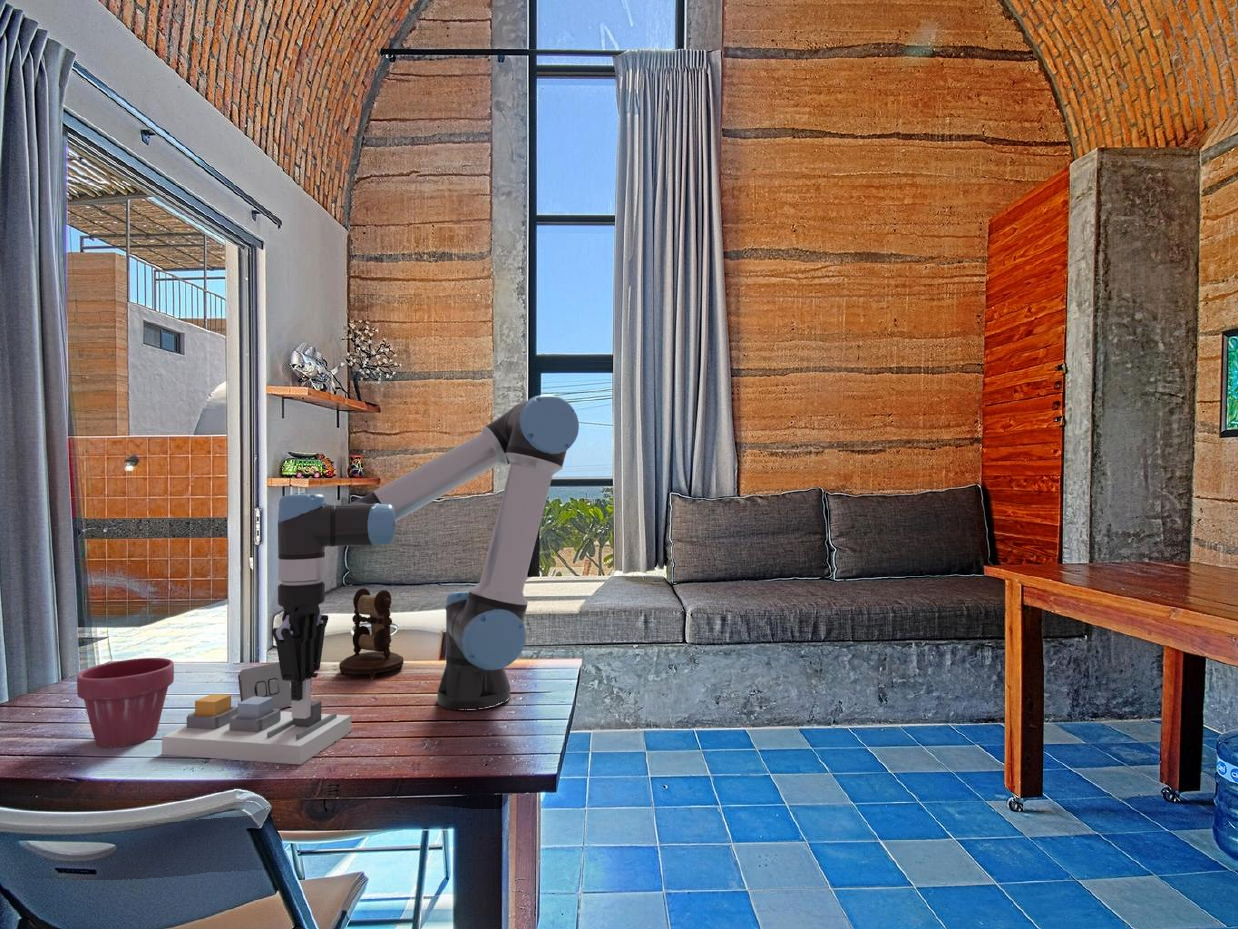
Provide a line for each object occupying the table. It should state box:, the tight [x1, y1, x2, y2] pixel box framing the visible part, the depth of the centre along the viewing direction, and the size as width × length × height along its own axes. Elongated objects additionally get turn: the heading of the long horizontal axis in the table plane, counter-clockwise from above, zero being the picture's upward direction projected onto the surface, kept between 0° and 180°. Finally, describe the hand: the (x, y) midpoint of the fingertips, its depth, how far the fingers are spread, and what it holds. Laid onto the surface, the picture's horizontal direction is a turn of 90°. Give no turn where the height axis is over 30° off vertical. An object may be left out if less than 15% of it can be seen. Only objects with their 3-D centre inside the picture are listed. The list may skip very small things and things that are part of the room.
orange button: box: [194, 693, 232, 716], centre depth 125 cm, size 4×4×3 cm
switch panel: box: [161, 705, 352, 765], centre depth 123 cm, size 26×15×5 cm, turn 80°
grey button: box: [237, 696, 273, 719], centre depth 124 cm, size 4×4×3 cm
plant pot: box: [76, 657, 175, 748], centre depth 126 cm, size 14×14×13 cm
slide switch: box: [293, 700, 322, 726], centre depth 124 cm, size 4×2×4 cm, turn 80°
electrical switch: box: [237, 661, 292, 709], centre depth 141 cm, size 9×5×9 cm, turn 141°
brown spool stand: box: [338, 588, 405, 679], centre depth 170 cm, size 15×15×20 cm
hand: (301, 716), depth 122 cm, fingers closed
